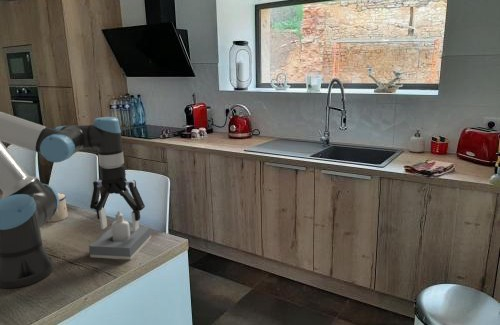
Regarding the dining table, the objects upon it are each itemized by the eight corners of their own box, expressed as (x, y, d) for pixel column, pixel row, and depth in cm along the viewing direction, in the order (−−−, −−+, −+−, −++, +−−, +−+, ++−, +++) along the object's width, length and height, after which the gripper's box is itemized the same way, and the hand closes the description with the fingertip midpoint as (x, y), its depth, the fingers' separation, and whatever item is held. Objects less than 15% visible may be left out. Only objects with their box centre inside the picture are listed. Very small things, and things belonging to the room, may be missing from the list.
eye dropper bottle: (121, 239, 134) (118, 207, 131) (133, 243, 131) (129, 210, 128) (111, 244, 130) (107, 211, 127) (122, 248, 127) (119, 214, 125)
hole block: (130, 259, 122) (129, 248, 121) (90, 257, 124) (88, 246, 123) (151, 237, 137) (150, 227, 136) (115, 235, 140) (113, 225, 139)
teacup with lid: (43, 217, 159) (38, 190, 156) (67, 212, 164) (62, 186, 161) (45, 227, 149) (40, 198, 146) (70, 221, 154) (66, 194, 151)
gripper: (151, 162, 125) (157, 225, 131) (85, 161, 129) (94, 222, 135) (141, 169, 118) (148, 234, 124) (72, 168, 122) (82, 231, 128)
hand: (120, 228), depth 129 cm, fingers open, 11 cm apart
